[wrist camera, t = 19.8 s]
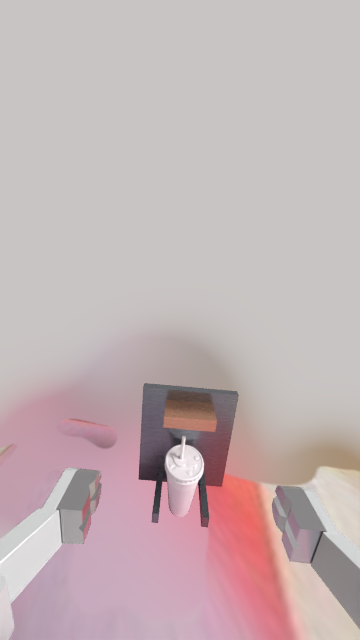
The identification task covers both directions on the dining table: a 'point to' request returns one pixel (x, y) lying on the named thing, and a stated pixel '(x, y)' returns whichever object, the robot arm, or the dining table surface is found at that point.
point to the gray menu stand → (185, 434)
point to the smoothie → (182, 476)
